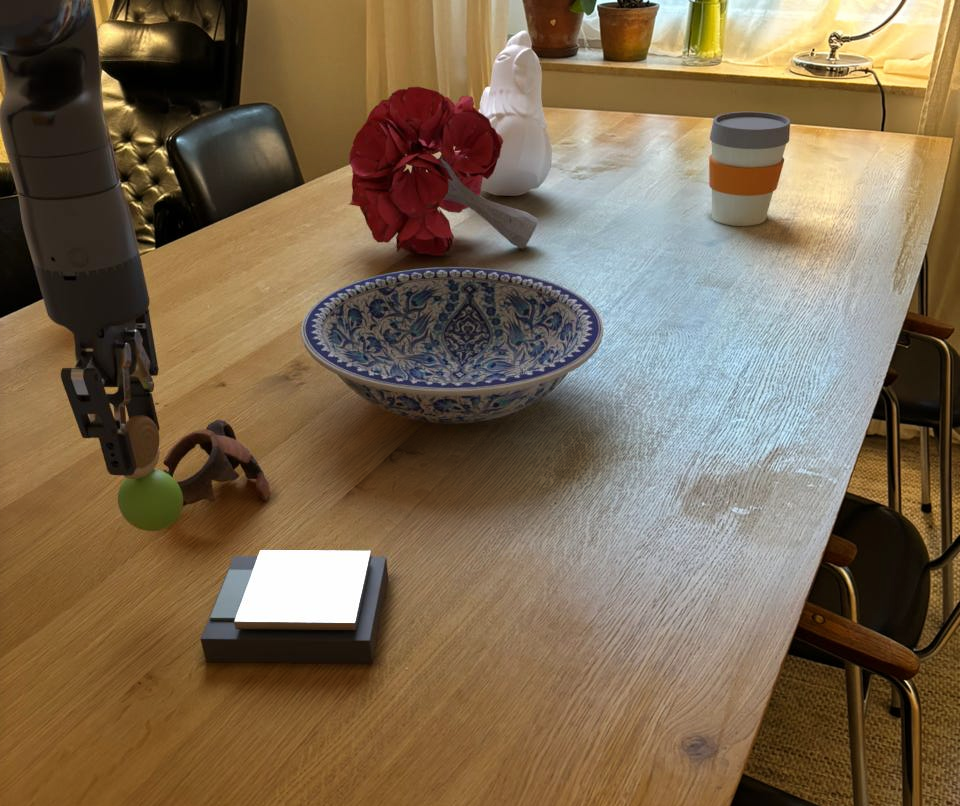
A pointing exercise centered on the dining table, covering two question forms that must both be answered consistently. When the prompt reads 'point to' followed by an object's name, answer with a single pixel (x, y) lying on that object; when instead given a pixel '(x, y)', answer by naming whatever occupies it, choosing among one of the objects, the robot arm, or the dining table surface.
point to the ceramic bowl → (452, 340)
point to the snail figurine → (148, 482)
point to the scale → (291, 644)
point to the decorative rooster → (517, 120)
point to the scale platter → (304, 590)
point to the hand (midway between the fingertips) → (135, 452)
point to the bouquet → (449, 181)
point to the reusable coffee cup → (745, 165)
